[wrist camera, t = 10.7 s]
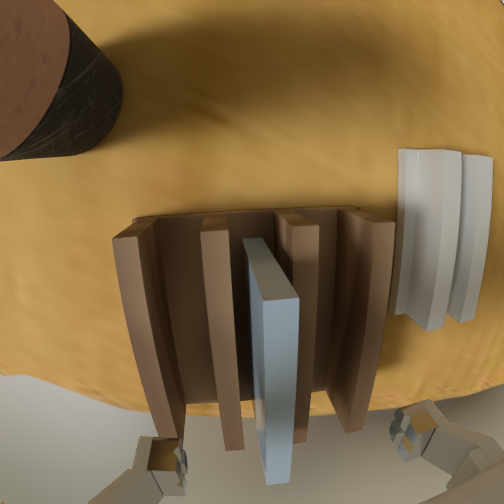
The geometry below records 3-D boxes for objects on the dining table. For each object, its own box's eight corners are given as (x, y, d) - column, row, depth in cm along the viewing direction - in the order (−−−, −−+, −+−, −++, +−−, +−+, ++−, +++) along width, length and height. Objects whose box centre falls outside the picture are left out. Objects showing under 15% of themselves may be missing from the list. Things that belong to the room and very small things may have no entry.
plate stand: (465, 157, 20) (500, 159, 16) (453, 298, 23) (481, 316, 19) (397, 148, 19) (432, 147, 15) (388, 309, 22) (414, 334, 19)
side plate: (261, 237, 19) (299, 297, 10) (265, 384, 22) (289, 482, 13) (241, 238, 19) (262, 300, 10) (249, 386, 22) (266, 485, 13)
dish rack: (353, 205, 20) (401, 222, 14) (340, 379, 24) (367, 428, 18) (136, 217, 19) (103, 239, 13) (167, 396, 22) (158, 451, 17)
